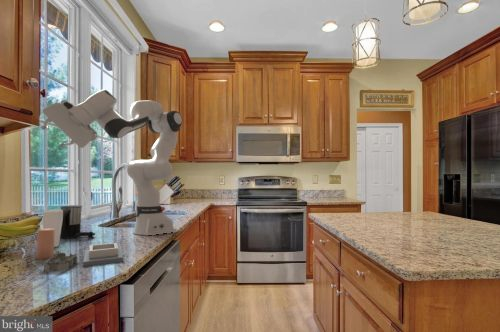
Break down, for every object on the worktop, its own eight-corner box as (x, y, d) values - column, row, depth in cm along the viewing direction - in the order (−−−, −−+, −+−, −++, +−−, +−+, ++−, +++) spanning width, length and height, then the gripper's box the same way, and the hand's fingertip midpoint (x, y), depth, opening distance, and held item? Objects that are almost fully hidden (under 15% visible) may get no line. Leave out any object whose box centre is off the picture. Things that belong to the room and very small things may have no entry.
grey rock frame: (57, 262, 94) (58, 250, 94) (81, 261, 95) (81, 249, 95) (38, 272, 83) (39, 259, 84) (64, 272, 84) (65, 258, 85)
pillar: (54, 254, 101) (55, 228, 102) (52, 258, 97) (53, 230, 97) (37, 256, 99) (39, 229, 99) (34, 260, 94) (36, 231, 95)
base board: (119, 250, 109) (120, 240, 109) (122, 261, 95) (123, 250, 95) (85, 253, 103) (85, 243, 103) (83, 266, 89) (83, 254, 89)
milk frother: (60, 235, 133) (62, 205, 133) (97, 233, 139) (98, 204, 140) (53, 241, 120) (55, 208, 120) (94, 239, 126) (95, 207, 127)
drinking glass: (50, 249, 108) (52, 212, 108) (36, 248, 109) (38, 211, 110) (65, 245, 114) (67, 210, 115) (52, 244, 116) (54, 209, 116)
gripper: (100, 136, 121) (73, 156, 117) (62, 98, 114) (32, 119, 109) (99, 135, 116) (71, 156, 111) (60, 96, 108) (28, 117, 104)
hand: (52, 137), depth 110 cm, fingers open, 8 cm apart
